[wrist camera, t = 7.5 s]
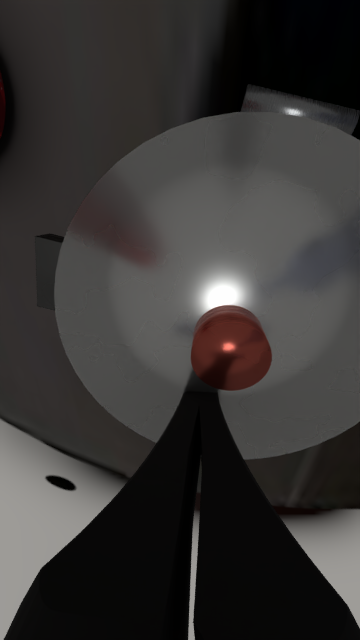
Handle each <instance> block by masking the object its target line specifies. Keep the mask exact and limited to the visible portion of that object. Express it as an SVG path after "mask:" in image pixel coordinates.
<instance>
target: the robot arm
mask: <svg viewBox="0 0 360 640" xmlns="http://www.w3.org/2000/svg"><path fill="white" fill-rule="evenodd" d="M200 458H201V461H202V481H201V501H200V520H199V521H200V522H199V540H198V556H197V572H196V589H195V604H194V619H193V620H194V621H193V623H194V634H195V640H360V628H359V626H358V625H357V623H356V621H355V619H354V617H353V615H352V613H351V611H350V609H349V607H348V606H347V604H346V603H345V602H344V601H343V599H342V598H341V597H340V595H339V594H338V593H337V592H336V591H335V589H334V588H333V587H332V586H331V584H330V583H329V582H328V581H327V580H326V578H325V577H324V576H323V574H322V573H321V572H320V571H319V570H318V568H317V567H316V566H315V565H314V563H313V562H312V561H311V559H310V558H309V557H308V556H307V554H306V553H305V551H304V550H303V549H302V548H301V546H300V545H299V544H298V542H297V541H296V539H295V538H294V537H293V536H292V534H291V533H290V531H289V530H288V528H287V527H286V525H285V524H284V523H283V521H282V520H281V518H280V517H279V515H278V514H277V513H276V511H275V510H274V508H273V507H272V505H271V504H270V502H269V501H268V499H267V498H266V496H265V495H264V493H263V491H262V490H261V488H260V487H259V485H258V483H257V482H256V480H255V478H254V477H253V475H252V473H251V472H250V470H249V468H248V466H247V464H246V463H245V461H244V459H243V457H242V455H241V453H240V451H239V449H238V447H237V445H236V443H235V441H234V439H233V437H232V434H231V432H230V430H229V427H228V425H227V423H226V420H225V418H224V415H223V412H222V409H221V406H220V402H219V397H218V394H217V393H216V392H184V393H183V395H182V398H181V400H180V403H179V405H178V407H177V409H176V411H175V413H174V415H173V417H172V418H171V420H170V422H169V424H168V425H167V427H166V429H165V431H164V432H163V434H162V436H161V437H160V439H159V440H158V442H157V443H156V445H155V446H154V448H153V449H152V451H151V452H150V454H149V455H148V456H147V458H146V459H145V461H144V462H143V463H142V465H141V466H140V467H139V469H138V470H137V471H136V472H135V474H134V475H133V476H132V477H131V479H130V480H129V481H128V482H127V483H126V484H125V486H124V487H123V488H122V489H121V491H120V492H119V493H118V494H117V495H116V496H115V497H114V498H113V499H112V501H111V502H110V503H109V504H108V505H107V506H106V507H105V508H104V509H103V510H102V511H101V512H100V513H99V514H98V515H97V516H96V517H95V518H94V519H93V520H92V521H91V522H90V524H89V525H87V526H86V527H85V529H83V530H82V531H81V533H79V534H78V535H77V536H76V537H75V538H74V539H73V540H72V541H71V542H70V543H68V544H67V545H66V546H65V547H64V548H63V549H62V550H61V551H60V552H59V553H58V554H57V555H55V556H54V557H53V558H52V559H51V560H50V561H49V562H48V563H47V564H46V565H44V566H43V567H42V568H41V570H40V572H39V573H38V575H37V576H36V578H35V580H34V581H33V583H32V585H31V587H30V588H29V590H28V592H27V594H26V596H25V597H24V599H23V601H22V603H21V605H20V607H19V609H18V611H17V613H16V615H15V617H14V619H13V621H12V623H11V626H10V628H9V630H8V632H7V634H6V636H5V638H4V640H188V627H189V625H188V624H189V600H190V576H191V551H192V528H193V516H194V507H195V500H196V492H197V483H198V475H199V467H200Z"/></svg>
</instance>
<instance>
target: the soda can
mask: <svg viewBox="0 0 360 640" xmlns="http://www.w3.org/2000/svg"><path fill="white" fill-rule="evenodd" d="M4 121H5V93H4V85H3V81H2V76H1V72H0V138H1V135H2V131H3V128H4Z"/></svg>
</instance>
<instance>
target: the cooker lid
mask: <svg viewBox="0 0 360 640" xmlns="http://www.w3.org/2000/svg"><path fill="white" fill-rule="evenodd" d="M358 118H359V110H355V109H350V108H346V107H342V106H338V105H334V104H330V103H325V102H321V101H317V100H313V99H309V98H305V97H300V96H296V95H292V94H288V93H284V92H280V91H275V90H271V89H267V88H263V87H259V86H254V85H250V84H248V86H247V90H246V93H245V97H244V101H243V105H242V108H241V112H235V113H229V114H223V115H217V116H211V117H205V118H201V119H198V120H195V121H192V122H189V123H186V124H183V125H180V126H177V127H174V128H172V129H170V130H168V131H166V132H164V133H162V134H160V135H158V136H156V137H154V138H152V139H150V140H148V141H146V142H144V143H143V144H141V145H140V146H139V147H137V148H136V149H134V150H133V151H132V152H130V153H129V154H128V155H126V156H125V157H123V158H122V159H121V160H119V161H118V162H117V163H116V164H115V165H114V166H113V167H112V168H111V169H110V170H109V171H108V172H107V173H106V174H105V175H104V176H103V177H102V178H101V179H100V180H99V181H98V182H97V183H96V184H95V186H94V187H93V188H92V190H91V191H90V192H89V194H88V195H87V196H86V198H85V199H84V200H83V202H82V203H81V205H80V207H79V208H78V210H77V212H76V214H75V216H74V218H73V219H72V221H71V223H70V225H69V227H68V230H67V233H66V235H65V238H64V241H63V243H62V246H61V249H60V253H59V258H58V263H57V268H56V274H55V288H54V299H55V314H56V319H57V324H58V329H59V334H60V337H61V340H62V343H63V346H64V349H65V352H66V354H67V356H68V358H69V360H70V362H71V364H72V366H73V368H74V370H75V372H76V374H77V375H78V377H79V378H80V380H81V381H82V383H83V384H84V386H85V387H86V388H87V390H88V391H89V392H90V393H91V394H92V396H93V397H94V398H95V399H96V400H97V401H98V402H99V403H100V404H101V405H102V406H103V407H104V408H105V409H106V410H107V411H108V412H109V413H110V414H111V415H112V416H114V417H115V418H116V419H117V420H119V421H120V422H121V423H122V424H124V425H126V426H127V427H129V428H130V429H132V430H133V431H135V432H136V433H138V434H140V435H142V436H144V437H146V438H148V439H150V440H152V441H153V442H156V443H157V442H158V440H159V439H160V437H161V436H162V434H163V432H164V431H165V429H166V427H167V425H168V424H169V422H170V420H171V418H172V417H173V415H174V413H175V411H176V409H177V407H178V405H179V403H180V400H181V398H182V395H183V393H184V392H216V393H217V394H218V397H219V402H220V406H221V409H222V412H223V415H224V418H225V420H226V423H227V425H228V427H229V430H230V432H231V434H232V437H233V439H234V441H235V443H236V445H237V447H238V449H239V451H240V453H241V455H242V457H243V459H259V458H266V457H273V456H280V455H284V454H288V453H292V452H296V451H300V450H303V449H306V448H308V447H311V446H314V445H317V444H319V443H322V442H324V441H326V440H328V439H330V438H333V437H335V436H337V435H339V434H340V433H342V432H344V431H346V430H347V429H349V428H351V427H352V426H354V425H356V424H357V423H358V422H360V140H358V139H356V138H355V137H353V136H351V134H352V132H353V130H354V128H355V126H356V124H357V121H358Z"/></svg>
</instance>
